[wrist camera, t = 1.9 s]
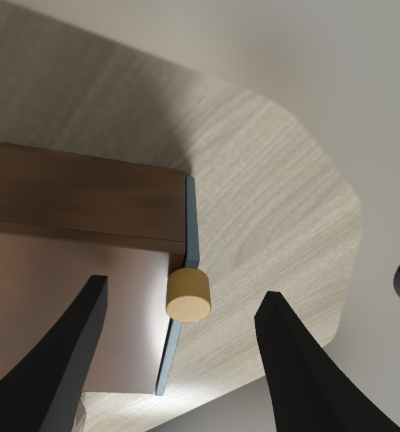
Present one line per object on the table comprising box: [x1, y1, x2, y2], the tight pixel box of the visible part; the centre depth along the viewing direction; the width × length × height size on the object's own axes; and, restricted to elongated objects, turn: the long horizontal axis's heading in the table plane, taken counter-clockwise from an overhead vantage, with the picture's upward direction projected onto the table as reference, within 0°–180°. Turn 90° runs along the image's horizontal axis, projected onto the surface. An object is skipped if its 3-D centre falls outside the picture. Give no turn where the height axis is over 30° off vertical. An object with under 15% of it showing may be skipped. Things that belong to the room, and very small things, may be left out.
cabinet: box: [0, 142, 185, 394], centre depth 18 cm, size 14×15×8 cm
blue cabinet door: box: [155, 176, 211, 396], centre depth 19 cm, size 2×14×10 cm, turn 169°
